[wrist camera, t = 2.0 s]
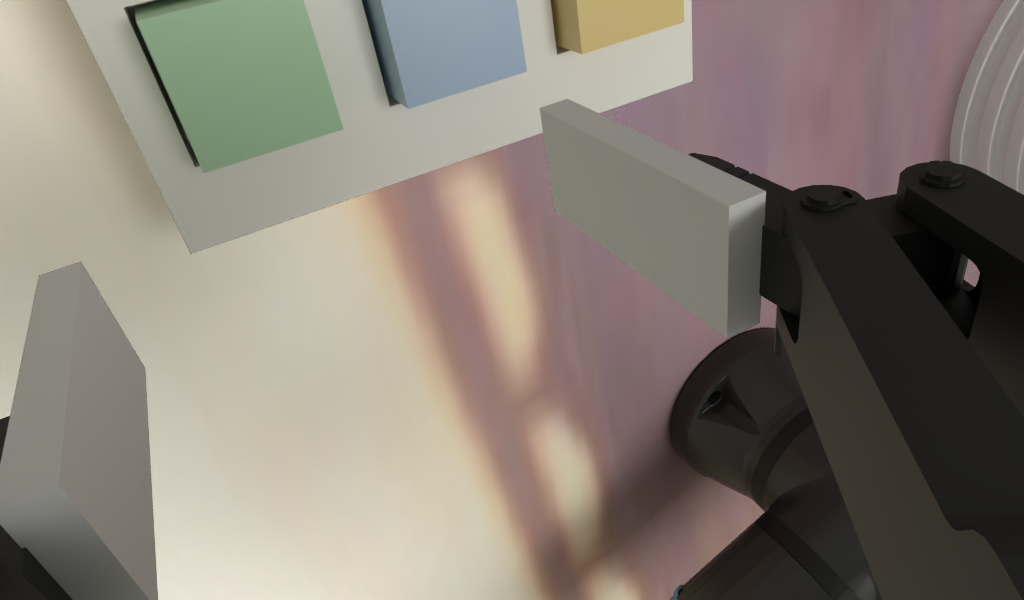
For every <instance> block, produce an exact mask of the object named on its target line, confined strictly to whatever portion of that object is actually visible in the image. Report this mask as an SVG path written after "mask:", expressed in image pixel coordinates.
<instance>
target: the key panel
mask: <svg viewBox="0 0 1024 600" xmlns="http://www.w3.org/2000/svg"><path fill="white" fill-rule="evenodd" d="M157 1H161V0H67V2H68V4H69V7H70V9H71V11H72V13H73V15H74V17H75V19H76V21H77V23H78V25H79V27H80V29H81V31H82V33H83V35H84V37H85V39H86V41H87V43H88V45H89V47H90V49H91V51H92V53H93V55H94V58H95V60H96V62H97V64H98V66H99V68H100V70H101V72H102V74H103V76H104V78H105V80H106V82H107V84H108V86H109V88H110V90H111V92H112V94H113V96H114V98H115V100H116V102H117V104H118V107H119V109H120V111H121V113H122V115H123V117H124V119H125V121H126V123H127V125H128V127H129V129H130V131H131V133H132V135H133V137H134V139H135V141H136V143H137V145H138V147H139V149H140V151H141V153H142V156H143V158H144V160H145V162H146V164H147V166H148V168H149V170H150V172H151V174H152V176H153V178H154V180H155V182H156V184H157V186H158V188H159V190H160V192H161V194H162V196H163V198H164V200H165V202H166V205H167V207H168V209H169V211H170V213H171V215H172V217H173V219H174V221H175V223H176V225H177V227H178V229H179V231H180V233H181V235H182V237H183V239H184V241H185V243H186V245H187V247H188V249H189V251H190V254H192V253H195V252H198V251H201V250H204V249H206V248H209V247H212V246H215V245H218V244H221V243H224V242H227V241H230V240H233V239H235V238H238V237H241V236H244V235H247V234H250V233H253V232H256V231H259V230H262V229H264V228H267V227H270V226H273V225H276V224H279V223H282V222H285V221H288V220H291V219H293V218H296V217H299V216H302V215H305V214H308V213H311V212H314V211H317V210H320V209H323V208H325V207H328V206H331V205H334V204H337V203H340V202H343V201H346V200H349V199H352V198H354V197H357V196H360V195H363V194H366V193H369V192H372V191H375V190H378V189H381V188H383V187H386V186H389V185H392V184H395V183H398V182H401V181H404V180H407V179H410V178H412V177H415V176H418V175H421V174H424V173H427V172H430V171H433V170H436V169H439V168H441V167H444V166H447V165H450V164H453V163H456V162H459V161H462V160H465V159H468V158H470V157H473V156H476V155H479V154H482V153H485V152H488V151H491V150H494V149H497V148H499V147H502V146H505V145H508V144H511V143H514V142H517V141H520V140H523V139H526V138H528V137H531V136H534V135H537V134H540V133H543V129H542V122H541V116H540V109H539V108H541V107H544V106H547V105H550V104H553V103H556V102H559V101H562V100H565V99H569V100H571V101H573V102H576V103H578V104H580V105H582V106H584V107H586V108H589V109H591V110H593V111H595V112H597V113H601V112H604V111H607V110H610V109H613V108H616V107H618V106H621V105H624V104H627V103H630V102H633V101H636V100H639V99H642V98H645V97H647V96H650V95H653V94H656V93H659V92H662V91H665V90H668V89H671V88H674V87H676V86H679V85H682V84H685V83H688V82H691V81H693V79H692V13H691V0H684V22H683V23H680V24H677V25H674V26H670V27H667V28H664V29H661V30H658V31H655V32H651V33H648V34H645V35H642V36H639V37H635V38H632V39H629V40H626V41H623V42H620V43H616V44H613V45H610V46H607V47H604V48H601V49H597V50H594V51H591V52H588V53H585V54H580V53H577V52H574V51H571V50H568V49H566V48H563V47H560V46H557V45H556V41H555V33H554V25H553V17H552V8H551V0H516V1H517V8H518V14H519V21H520V28H521V35H522V41H523V48H524V55H525V62H526V68H527V72H524V73H521V74H518V75H515V76H512V77H508V78H505V79H502V80H499V81H496V82H492V83H489V84H486V85H483V86H480V87H477V88H473V89H470V90H467V91H464V92H461V93H457V94H454V95H451V96H448V97H445V98H442V99H438V100H435V101H432V102H429V103H426V104H423V105H419V106H416V107H413V108H410V109H407V108H406V107H405V106H403V105H402V104H401V103H399V102H398V101H397V100H395V99H394V98H393V97H392V96H390V95H389V94H388V93H386V90H385V86H384V82H383V79H382V75H381V71H380V67H379V63H378V60H377V56H376V52H375V48H374V45H373V41H372V37H371V33H370V30H369V26H368V22H367V18H366V15H365V11H364V7H363V3H362V0H304V3H305V6H306V9H307V12H308V16H309V19H310V22H311V25H312V29H313V32H314V35H315V38H316V42H317V45H318V48H319V51H320V54H321V58H322V61H323V64H324V67H325V71H326V74H327V77H328V80H329V84H330V87H331V90H332V93H333V96H334V100H335V103H336V106H337V109H338V113H339V116H340V119H341V122H342V126H343V130H340V131H337V132H334V133H330V134H327V135H324V136H321V137H318V138H314V139H311V140H308V141H305V142H302V143H299V144H295V145H292V146H289V147H286V148H283V149H279V150H276V151H273V152H270V153H267V154H264V155H260V156H257V157H254V158H251V159H248V160H245V161H241V162H238V163H235V164H232V165H229V166H225V167H222V168H219V169H216V170H213V171H210V172H206V173H203V171H202V169H201V166H200V164H199V162H198V160H197V157H196V155H195V153H194V151H193V148H192V146H191V144H190V142H189V139H188V137H187V135H186V133H185V130H184V128H183V126H182V124H181V121H180V119H179V117H178V115H177V112H176V110H175V108H174V106H173V103H172V101H171V99H170V97H169V94H168V92H167V90H166V88H165V85H164V83H163V81H162V79H161V76H160V74H159V72H158V70H157V67H156V65H155V63H154V61H153V58H152V56H151V54H150V52H149V49H148V47H147V45H146V43H145V40H144V38H143V36H142V34H141V31H140V29H139V27H138V25H137V22H136V17H135V9H134V7H136V6H141V5H145V4H149V3H153V2H157Z"/></svg>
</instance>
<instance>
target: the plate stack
mask: <svg viewBox="0 0 1024 600" xmlns="http://www.w3.org/2000/svg"><path fill="white" fill-rule="evenodd" d="M950 161H951V162H953V163H956V164H962V165H966V166H969V167H971V168H974V169H977V170H979V171H981V172H983V173H984V174H986V175H988V176H990V177H992V178H994V179H995V180H997V181H999V182H1001V183H1003V184H1005V185H1006V186H1008V187H1010V188H1012V189H1014V190H1016V191H1017V192H1019V193H1021V194H1023V195H1024V0H1004V1H1003V2H1002V4H1001V5H1000V7H999V9H998V10H997V12H996V14H995V15H994V17H993V19H992V20H991V22H990V24H989V26H988V28H987V30H986V31H985V33H984V35H983V37H982V39H981V41H980V43H979V46H978V48H977V50H976V52H975V54H974V57H973V59H972V61H971V64H970V66H969V69H968V71H967V74H966V77H965V79H964V82H963V85H962V88H961V91H960V95H959V98H958V102H957V105H956V110H955V114H954V119H953V124H952V130H951V138H950Z"/></svg>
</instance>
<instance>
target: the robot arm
mask: <svg viewBox="0 0 1024 600" xmlns="http://www.w3.org/2000/svg"><path fill="white" fill-rule="evenodd" d="M539 109H540V116H541V122H542V129H543V136H544V143H545V150H546V157H547V164H548V171H549V178H550V185H551V192H552V199H553V206H554V211H555V212H556V213H558V214H559V215H560V216H562V217H563V218H564V219H566V220H567V221H568V222H570V223H571V224H572V225H574V226H575V227H576V228H578V229H579V230H581V231H582V232H583V233H585V234H586V235H587V236H589V237H590V238H591V239H593V240H594V241H595V242H597V243H598V244H600V245H601V246H602V247H604V248H605V249H606V250H608V251H609V252H610V253H612V254H613V255H614V256H616V257H617V258H619V259H620V260H621V261H623V262H624V263H625V264H627V265H628V266H629V267H631V268H632V269H633V270H635V271H636V272H637V273H639V274H640V275H642V276H643V277H644V278H646V279H647V280H648V281H650V282H651V283H652V284H654V285H655V286H656V287H658V288H659V289H661V290H662V291H663V292H665V293H666V294H667V295H669V296H670V297H671V298H673V299H674V300H675V301H677V302H678V303H679V304H681V305H682V306H684V307H685V308H686V309H688V310H689V311H690V312H692V313H693V314H694V315H696V316H697V317H698V318H700V319H701V320H703V321H704V322H705V323H707V324H708V325H709V326H711V327H712V328H713V329H715V330H716V331H717V332H719V333H720V334H721V335H723V336H724V337H726V338H730V337H732V336H734V335H736V334H738V333H740V332H742V331H744V330H746V329H748V328H750V327H752V326H754V325H757V324H759V323H760V307H761V296H763V297H765V298H766V299H768V300H769V301H771V302H773V303H774V304H776V305H777V312H776V328H775V329H772V328H763V329H757V330H752V331H749V332H746V333H744V334H741V335H739V336H737V337H735V338H733V339H732V340H730V341H728V342H727V343H725V344H724V345H722V346H721V347H720V348H718V349H717V350H716V351H715V352H713V353H712V354H711V355H710V356H709V357H708V358H707V359H706V360H705V361H704V362H703V363H702V364H701V365H700V366H699V367H698V369H697V370H696V371H695V372H694V373H693V375H692V376H691V378H690V379H689V380H688V382H687V383H686V385H685V387H684V388H683V390H682V392H681V394H680V396H679V398H678V400H677V403H676V405H675V408H674V412H673V415H672V420H671V439H672V443H673V446H674V448H675V450H676V452H677V453H678V454H679V455H680V456H681V457H682V458H683V459H684V460H685V461H686V462H687V463H688V464H689V465H690V466H691V467H692V468H693V469H694V470H695V471H697V472H698V473H700V474H702V475H704V476H707V477H710V478H711V479H713V480H715V481H717V482H719V483H721V484H723V485H725V486H727V487H729V488H731V489H733V490H735V491H737V492H739V493H741V494H743V495H745V496H747V497H749V498H751V499H752V500H753V501H755V502H756V503H757V504H758V505H759V506H760V507H761V508H762V509H763V510H764V511H765V513H764V514H763V515H762V516H760V517H759V518H758V519H757V520H756V521H755V522H754V523H752V524H751V525H750V526H749V527H748V528H747V529H746V530H745V531H743V532H742V533H741V534H740V535H739V536H738V537H737V538H736V539H734V540H733V541H732V542H731V543H730V544H729V545H728V546H727V547H726V548H724V549H723V550H722V551H721V552H720V553H719V554H718V555H717V556H716V557H714V558H713V559H712V560H711V561H710V562H709V563H708V564H707V565H705V566H704V567H703V568H702V569H701V570H700V571H699V572H698V573H697V574H695V575H694V576H693V577H692V578H691V579H690V580H689V581H688V582H686V583H685V584H684V585H680V586H679V587H677V588H676V590H675V591H674V594H673V596H672V597H671V598H670V599H669V600H1024V195H1023V194H1021V193H1019V192H1017V191H1016V190H1014V189H1012V188H1010V187H1008V186H1006V185H1005V184H1003V183H1001V182H999V181H997V180H995V179H994V178H992V177H990V176H988V175H986V174H984V173H983V172H981V171H979V170H977V169H974V168H971V167H969V166H966V165H962V164H956V163H953V162H951V161H942V162H940V161H930V162H927V163H920V164H916V165H913V166H910V167H907V168H906V169H905V170H903V171H902V172H901V173H900V177H899V183H898V189H897V194H895V195H889V196H884V197H879V198H874V199H869V200H865V199H864V198H863V197H862V196H861V195H860V194H858V193H857V192H856V191H853V190H850V189H847V188H845V187H840V186H833V185H812V186H807V187H802V188H799V189H797V190H794V191H791V190H789V189H787V188H784V187H782V186H780V185H778V184H776V183H773V182H771V181H769V180H767V179H764V178H762V177H760V176H758V175H755V174H753V173H752V174H749V171H746V170H744V169H742V168H740V167H736V168H735V166H734V165H733V164H731V163H729V162H726V161H724V160H722V159H720V158H717V157H713V156H708V155H702V154H696V153H691V154H688V155H687V154H685V153H683V152H681V151H679V150H677V149H674V148H672V147H670V146H668V145H666V144H664V143H661V142H659V141H657V140H655V139H653V138H651V137H649V136H646V135H644V134H642V133H640V132H638V131H636V130H634V129H631V128H629V127H627V126H625V125H623V124H621V123H619V122H616V121H614V120H612V119H610V118H608V117H606V116H604V115H601V114H599V113H597V112H595V111H593V110H591V109H589V108H586V107H584V106H582V105H580V104H578V103H576V102H573V101H571V100H569V99H565V100H562V101H559V102H556V103H553V104H550V105H547V106H544V107H541V108H539ZM968 259H970V260H971V261H972V262H973V263H974V264H975V265H976V266H977V268H978V270H979V271H980V276H979V280H978V283H977V285H976V287H974V286H972V285H970V284H969V283H968V282H966V281H965V280H964V275H965V271H966V267H967V263H968ZM0 600H158V591H157V573H156V555H155V537H154V519H153V501H152V483H151V465H150V447H149V430H148V412H147V394H146V376H145V367H144V366H143V364H142V362H141V361H140V359H139V357H138V356H137V354H136V352H135V351H134V349H133V347H132V346H131V344H130V342H129V341H128V339H127V337H126V336H125V334H124V332H123V331H122V329H121V327H120V326H119V324H118V322H117V321H116V319H115V317H114V316H113V314H112V312H111V311H110V309H109V307H108V305H107V304H106V302H105V300H104V299H103V297H102V295H101V294H100V292H99V290H98V289H97V287H96V285H95V284H94V282H93V280H92V279H91V277H90V275H89V274H88V272H87V270H86V269H85V267H84V265H83V264H82V262H78V263H75V264H72V265H69V266H66V267H63V268H60V269H57V270H54V271H51V272H48V273H45V274H42V275H39V278H38V283H37V288H36V293H35V297H34V302H33V307H32V312H31V317H30V322H29V327H28V331H27V336H26V341H25V346H24V351H23V356H22V361H21V366H20V370H19V375H18V380H17V385H16V390H15V395H14V400H13V404H12V409H11V414H10V416H8V417H6V418H3V419H0Z"/></svg>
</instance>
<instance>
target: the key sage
mask: <svg viewBox="0 0 1024 600" xmlns="http://www.w3.org/2000/svg"><path fill="white" fill-rule="evenodd" d="M134 9H135V17H136V22H137V25H138V27H139V29H140V31H141V34H142V36H143V38H144V40H145V43H146V45H147V47H148V49H149V52H150V54H151V56H152V58H153V61H154V63H155V65H156V67H157V70H158V72H159V74H160V76H161V79H162V81H163V83H164V85H165V88H166V90H167V92H168V94H169V97H170V99H171V101H172V103H173V106H174V108H175V110H176V112H177V115H178V117H179V119H180V121H181V124H182V126H183V128H184V130H185V133H186V135H187V137H188V139H189V142H190V144H191V146H192V148H193V151H194V153H195V155H196V157H197V160H198V162H199V164H200V166H201V169H202V171H203V173H206V172H210V171H213V170H216V169H219V168H222V167H225V166H229V165H232V164H235V163H238V162H241V161H245V160H248V159H251V158H254V157H257V156H260V155H264V154H267V153H270V152H273V151H276V150H279V149H283V148H286V147H289V146H292V145H295V144H299V143H302V142H305V141H308V140H311V139H314V138H318V137H321V136H324V135H327V134H330V133H334V132H337V131H340V130H343V126H342V122H341V119H340V116H339V113H338V109H337V106H336V103H335V100H334V96H333V93H332V90H331V87H330V84H329V80H328V77H327V74H326V71H325V67H324V64H323V61H322V58H321V54H320V51H319V48H318V45H317V42H316V38H315V35H314V32H313V29H312V25H311V22H310V19H309V16H308V12H307V9H306V6H305V3H304V0H161V1H157V2H153V3H149V4H145V5H141V6H136V7H134Z"/></svg>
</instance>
